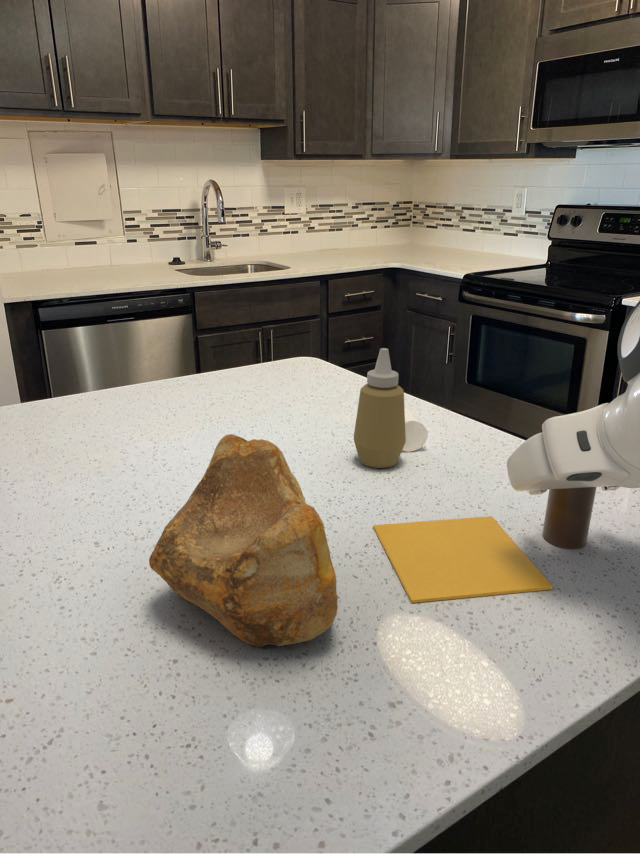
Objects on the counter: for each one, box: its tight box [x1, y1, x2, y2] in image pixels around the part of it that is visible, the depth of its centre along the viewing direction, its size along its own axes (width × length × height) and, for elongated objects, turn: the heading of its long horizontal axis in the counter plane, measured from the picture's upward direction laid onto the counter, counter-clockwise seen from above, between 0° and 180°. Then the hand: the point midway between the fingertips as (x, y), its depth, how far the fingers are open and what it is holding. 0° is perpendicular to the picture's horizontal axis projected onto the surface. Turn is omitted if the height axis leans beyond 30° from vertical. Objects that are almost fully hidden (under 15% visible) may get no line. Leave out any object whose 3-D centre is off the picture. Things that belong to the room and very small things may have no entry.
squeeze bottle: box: [353, 347, 406, 469], centre depth 100 cm, size 8×8×18 cm
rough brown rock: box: [148, 433, 339, 648], centre depth 67 cm, size 23×17×15 cm
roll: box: [402, 405, 429, 453], centre depth 112 cm, size 6×12×6 cm, turn 10°
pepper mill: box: [541, 487, 598, 550], centre depth 80 cm, size 5×5×14 cm
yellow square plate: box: [372, 515, 553, 604], centre depth 78 cm, size 16×16×1 cm
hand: (570, 486), depth 81 cm, fingers open, 8 cm apart
